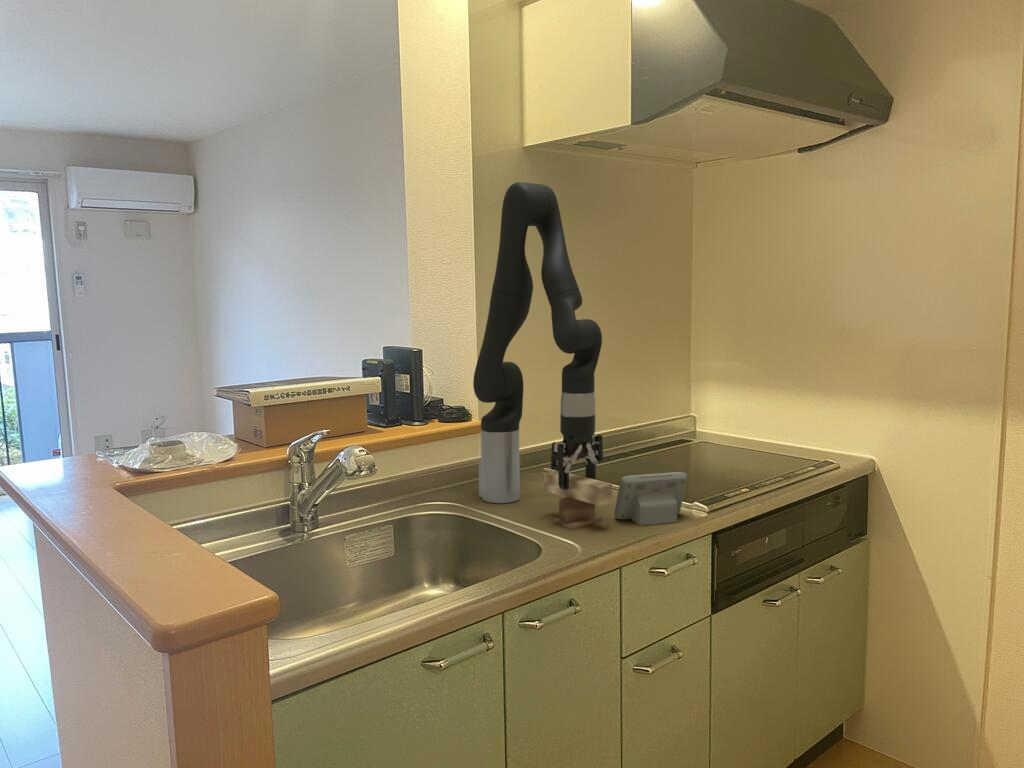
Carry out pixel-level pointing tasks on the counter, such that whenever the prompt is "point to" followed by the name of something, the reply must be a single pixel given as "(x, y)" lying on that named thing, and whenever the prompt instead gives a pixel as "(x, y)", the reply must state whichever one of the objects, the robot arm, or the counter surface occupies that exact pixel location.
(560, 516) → the walnut ridge
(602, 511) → the counter surface
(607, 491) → the beige long bar
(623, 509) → the digital clock
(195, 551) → the counter surface
